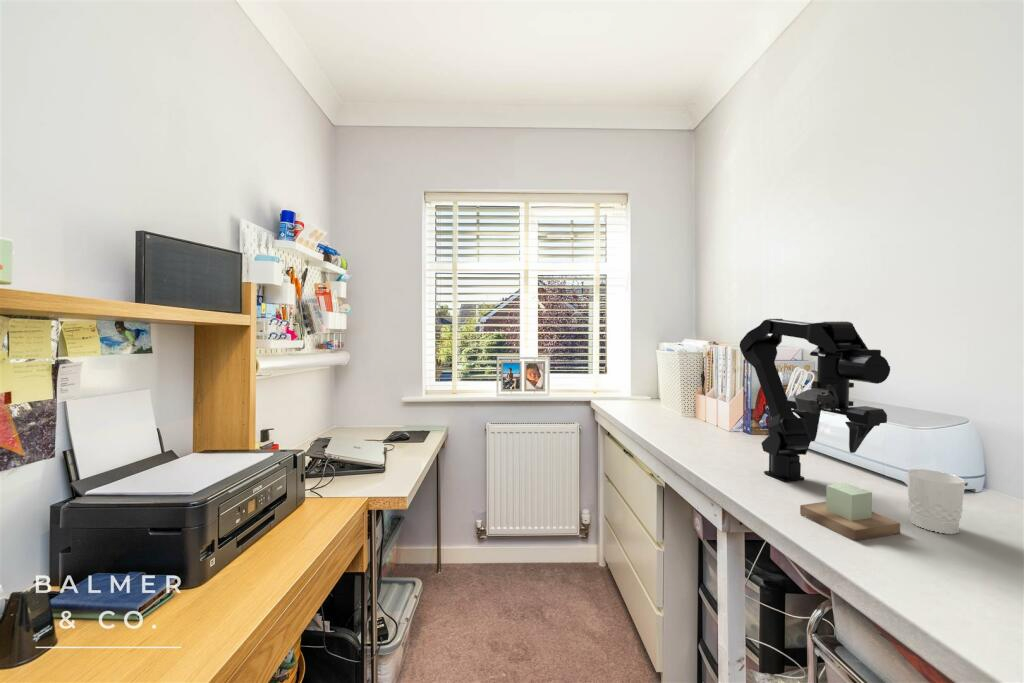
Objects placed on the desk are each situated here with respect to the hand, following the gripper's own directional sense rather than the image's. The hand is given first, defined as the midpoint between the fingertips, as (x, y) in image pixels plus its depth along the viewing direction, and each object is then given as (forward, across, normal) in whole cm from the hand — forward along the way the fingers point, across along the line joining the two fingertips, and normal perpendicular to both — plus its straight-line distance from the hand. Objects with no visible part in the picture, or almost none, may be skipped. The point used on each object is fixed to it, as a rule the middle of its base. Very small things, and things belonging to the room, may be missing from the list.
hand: (831, 446), depth 94 cm
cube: (+10, +10, -8) cm, 16 cm away
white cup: (+12, +15, +7) cm, 21 cm away
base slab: (+12, +10, -8) cm, 18 cm away
